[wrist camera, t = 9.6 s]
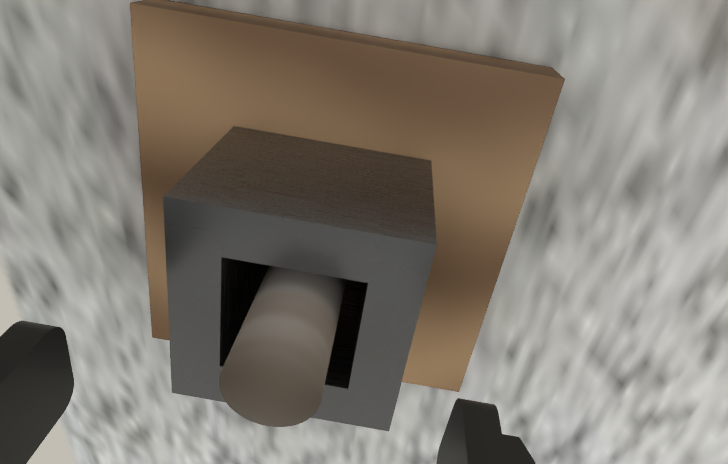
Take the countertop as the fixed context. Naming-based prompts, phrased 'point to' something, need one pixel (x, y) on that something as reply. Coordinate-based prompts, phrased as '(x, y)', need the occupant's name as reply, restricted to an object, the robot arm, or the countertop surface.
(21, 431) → the robot arm
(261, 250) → the block
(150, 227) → the shaft block
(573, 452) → the countertop surface
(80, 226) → the countertop surface
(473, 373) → the countertop surface
